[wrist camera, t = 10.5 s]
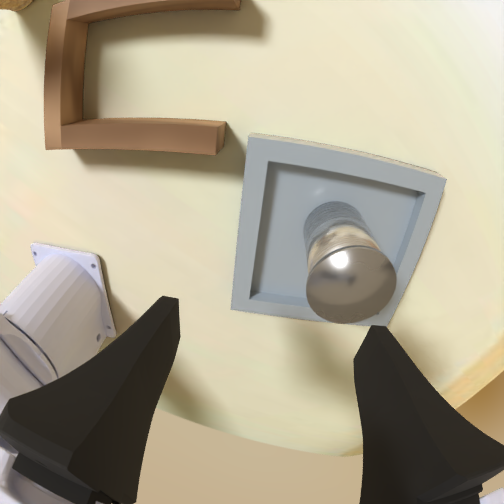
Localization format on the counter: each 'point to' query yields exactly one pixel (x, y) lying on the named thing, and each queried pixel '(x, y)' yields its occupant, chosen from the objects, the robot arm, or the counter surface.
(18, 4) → the sprinkles bottle
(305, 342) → the counter surface
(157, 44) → the counter surface
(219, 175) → the counter surface
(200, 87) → the counter surface
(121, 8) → the notch block
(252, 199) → the dish
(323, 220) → the salt shaker
